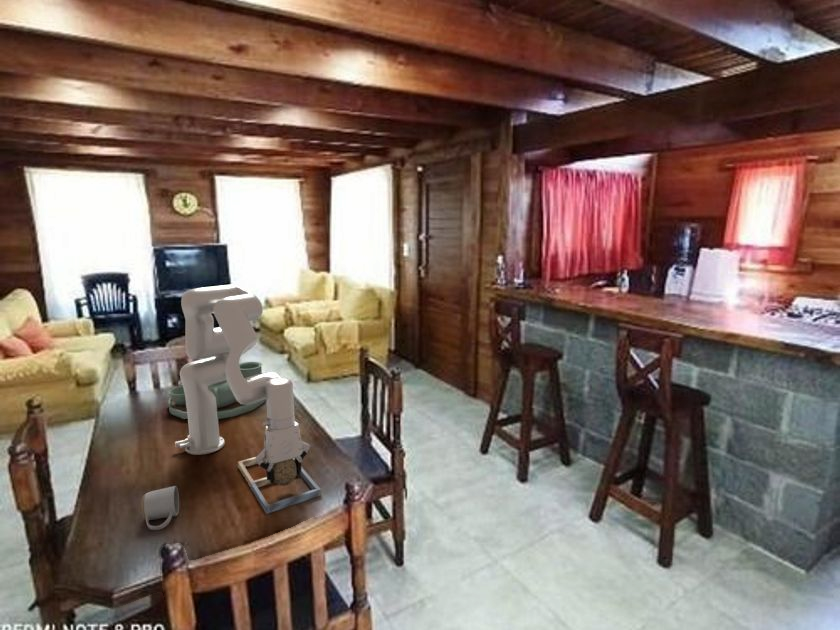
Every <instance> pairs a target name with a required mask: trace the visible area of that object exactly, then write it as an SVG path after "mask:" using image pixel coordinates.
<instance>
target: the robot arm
mask: <svg viewBox="0 0 840 630" xmlns="http://www.w3.org/2000/svg"><path fill="white" fill-rule="evenodd" d="M180 301H181V302H180V303H181V304H180V305H181V309H182V313H183V315H184V319H185V326H184V327H185V328H184V329H185V332H184V333H185V340H184V341H185V343H184V344H185V347H184V348H185V352H186V353H185V354H186V355H187V357H188V358H189V359H192V360H193V361H189V362H188V363H185V364H184V365H183V366H182V367H181V368H180V371H179V376H180V377H179V378H180V381H181V382H182V385H183V388H184V393H185V399H186V407H187V416H188V420H187V425H188V435H187V438H184V439H182V440H177V441H174V447H175V448H178V447H179V448H180V449H184V448H185V452H187V454H190V455H194V456H197V455H198V456H201V455H207V454H211V453H214V452H216V451H219V450H221V449H222V448H223V447H224V446H225V443H226V442H225V439H224V438H223V437H222V436H220V426H219V419H218V415H217V403H216V397H215V395H214V394H213V393H212V392H211V391H210V390H209V389H208V387H209V386H211V385H213V384H217V383H220V382H224V381H227V382H228V384H229V386H230V389H231V391H232V393H233V395H234V397H235V398H236V400H237V401H238V402H239V403H240V404H243V405H249V404H252V403H255V402H258V401H261V400H264V399H266V400H265V404H266V405H265V406H266V419H264V420H263V421H262V422H261V423H262V426H263V427H265V430H264V438H263V449H262V450H261V452H260V453H258V455H256V456H255V457H256V458H255V459H254V460H255V462H256V463H257V464H258V465H259V467H261V468H262V469H264V470H265V473H266V477H267V480H269V481H270V482H271V484H275V482H274V473H273V470H272V467H273V465H274V463H279V462H282V461H286V460H289V459H293V458H295V459H294V461H295V463H296V467H297V473H296V474H297V476H301V475H300V471H301V467H302V462H303V459H304V458H305V457H306V455H307V453H308V451H309V450H310V449H311V445H310V444H309V443H307V442H305V441H303V440H302V437H301V431H300V426H299V423H298V421H297V422H296V418H295V401H294V399H295V398H294V384H293V381H292V380H291V379H290V378H288V377H283V376H282V375H280V374H279V373H278V372H276V371H272V370H271V371H270V370H269V371H266V372H262V374H258V375H255V376H251V377H248V378H244V377H243V375H242V373H241V371H240V367H239V363H240V360H241V357H242V356H243V355H244V354H245V353H247V352H248V351H249V350H251V349H252V348H254V347H255V346H256V345H257V343H258V341H259V338H258V335H257V333H256V331H255V329H254V327H253V324H252V322H251V321H255V320H258V319H260V318H261V317H262V315H263V311H264V310H263V309H264V308H263V305H262V302H261V300H260V299H259V297H258V296H257V295H255V294H254V293H253V292H252V291H249V290H247V289H246V288H242V287H241V286H239V285H237V284H224V285H223V284H222V285H214V286H205V287H204V286H203V287H197V288H192V289H188V290H186V291H184V292H183V294H182V296H181V300H180ZM212 314H214V317H215V319H216V321H217V324H218V327H214V324H215V323H214V322H215V319H214V317H213V315H212ZM264 457H265V458H267V461H265V462H263V461H262V459H263V458H264ZM257 464H256V465H257ZM271 484H270V485H271Z"/></svg>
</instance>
